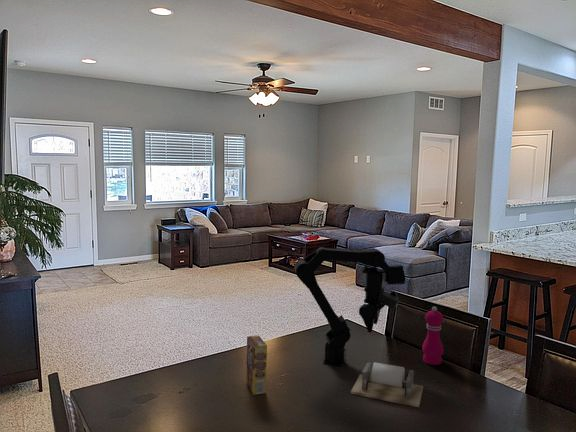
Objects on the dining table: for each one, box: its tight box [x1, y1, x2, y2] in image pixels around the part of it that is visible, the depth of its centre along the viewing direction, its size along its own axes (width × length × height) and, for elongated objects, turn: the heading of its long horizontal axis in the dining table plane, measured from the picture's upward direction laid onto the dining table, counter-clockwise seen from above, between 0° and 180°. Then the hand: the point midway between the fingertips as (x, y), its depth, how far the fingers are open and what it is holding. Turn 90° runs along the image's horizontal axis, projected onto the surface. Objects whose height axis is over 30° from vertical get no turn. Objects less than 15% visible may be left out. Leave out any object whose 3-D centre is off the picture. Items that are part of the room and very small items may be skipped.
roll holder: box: [350, 362, 424, 408], centre depth 138 cm, size 20×12×6 cm, turn 68°
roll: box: [371, 362, 406, 388], centre depth 137 cm, size 9×6×6 cm, turn 68°
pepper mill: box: [421, 306, 444, 366], centre depth 159 cm, size 7×7×20 cm
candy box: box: [245, 334, 268, 396], centre depth 138 cm, size 9×4×15 cm, turn 20°
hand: (372, 328), depth 158 cm, fingers open, 9 cm apart
